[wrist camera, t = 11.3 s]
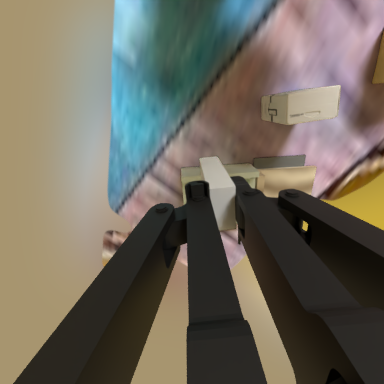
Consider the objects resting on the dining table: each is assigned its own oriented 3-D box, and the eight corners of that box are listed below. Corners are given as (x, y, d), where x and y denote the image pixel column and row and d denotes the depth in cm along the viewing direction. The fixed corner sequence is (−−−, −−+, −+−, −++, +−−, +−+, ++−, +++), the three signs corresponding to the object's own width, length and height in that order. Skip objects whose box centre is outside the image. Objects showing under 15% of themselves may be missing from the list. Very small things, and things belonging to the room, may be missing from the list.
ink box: (301, 88, 41) (344, 82, 30) (300, 114, 43) (339, 117, 32) (260, 96, 41) (287, 92, 30) (260, 121, 43) (286, 126, 32)
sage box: (181, 167, 46) (180, 177, 40) (249, 162, 46) (259, 171, 40) (185, 212, 51) (185, 227, 45) (246, 208, 51) (255, 222, 45)
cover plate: (250, 169, 47) (255, 174, 43) (313, 165, 47) (323, 170, 44) (248, 203, 50) (252, 210, 47) (306, 199, 50) (315, 206, 47)
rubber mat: (253, 158, 46) (254, 158, 46) (304, 154, 46) (305, 155, 46) (250, 211, 52) (250, 211, 51) (295, 207, 52) (296, 208, 51)
